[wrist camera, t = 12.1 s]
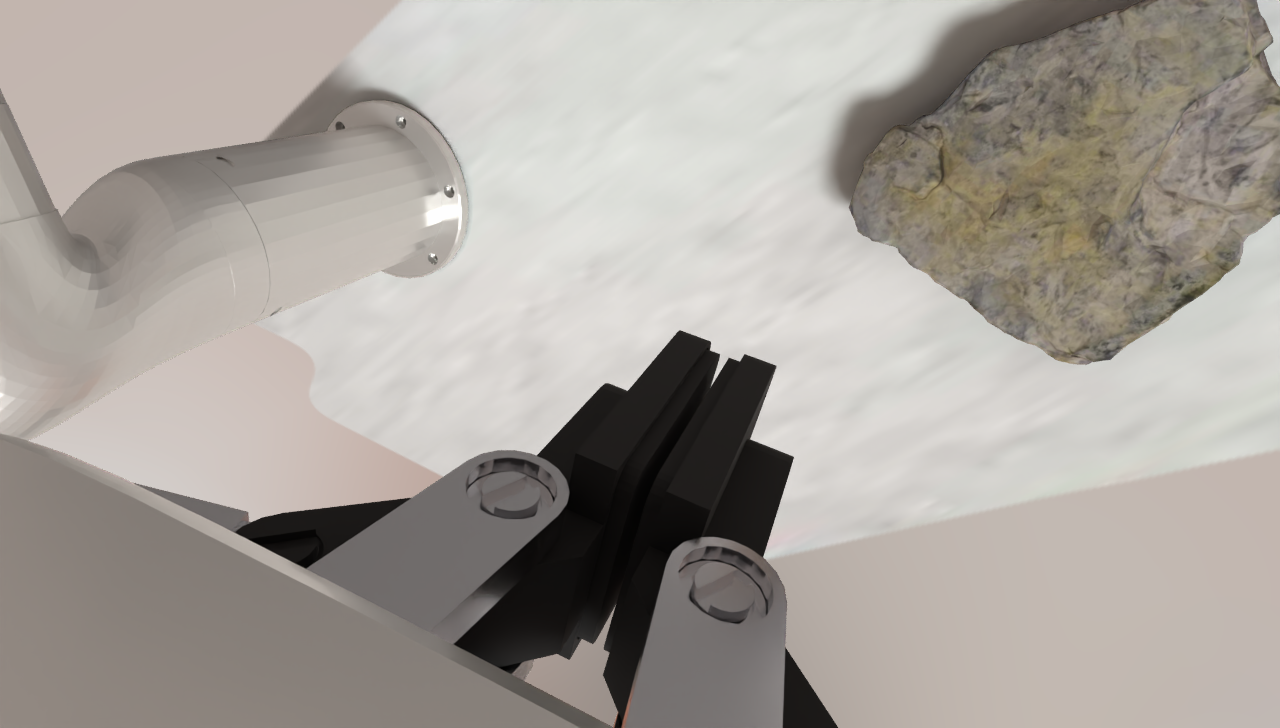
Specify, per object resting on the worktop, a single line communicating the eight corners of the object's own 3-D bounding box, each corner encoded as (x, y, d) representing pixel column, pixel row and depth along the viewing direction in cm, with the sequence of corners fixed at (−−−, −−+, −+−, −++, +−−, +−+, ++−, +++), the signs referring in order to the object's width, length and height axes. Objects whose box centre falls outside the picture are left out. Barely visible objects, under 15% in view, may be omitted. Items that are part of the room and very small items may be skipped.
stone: (1181, -98, 28) (1206, -114, 26) (1382, 191, 30) (1428, 207, 27) (830, 178, 38) (819, 189, 35) (991, 387, 40) (993, 414, 37)
